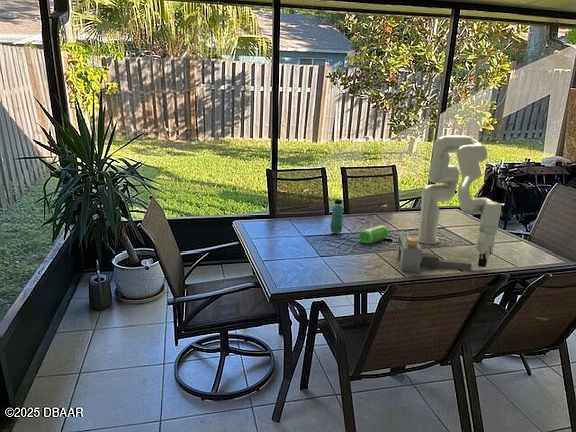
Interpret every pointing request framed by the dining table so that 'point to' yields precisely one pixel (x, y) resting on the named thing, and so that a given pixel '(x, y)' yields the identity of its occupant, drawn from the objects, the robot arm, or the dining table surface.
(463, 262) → the plug
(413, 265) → the grey boxy piece
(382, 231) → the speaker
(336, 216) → the beverage bottle
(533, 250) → the dining table surface
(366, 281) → the dining table surface
